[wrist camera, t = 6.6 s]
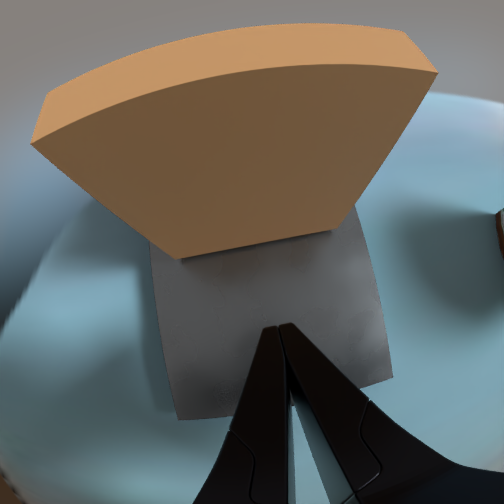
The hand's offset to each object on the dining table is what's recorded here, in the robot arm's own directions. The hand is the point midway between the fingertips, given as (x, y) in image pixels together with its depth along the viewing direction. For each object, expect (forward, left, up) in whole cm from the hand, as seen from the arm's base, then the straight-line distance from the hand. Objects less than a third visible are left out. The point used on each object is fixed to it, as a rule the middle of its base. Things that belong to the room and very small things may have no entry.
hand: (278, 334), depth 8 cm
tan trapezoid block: (+6, +4, -5) cm, 9 cm away
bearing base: (+2, +2, -7) cm, 7 cm away
